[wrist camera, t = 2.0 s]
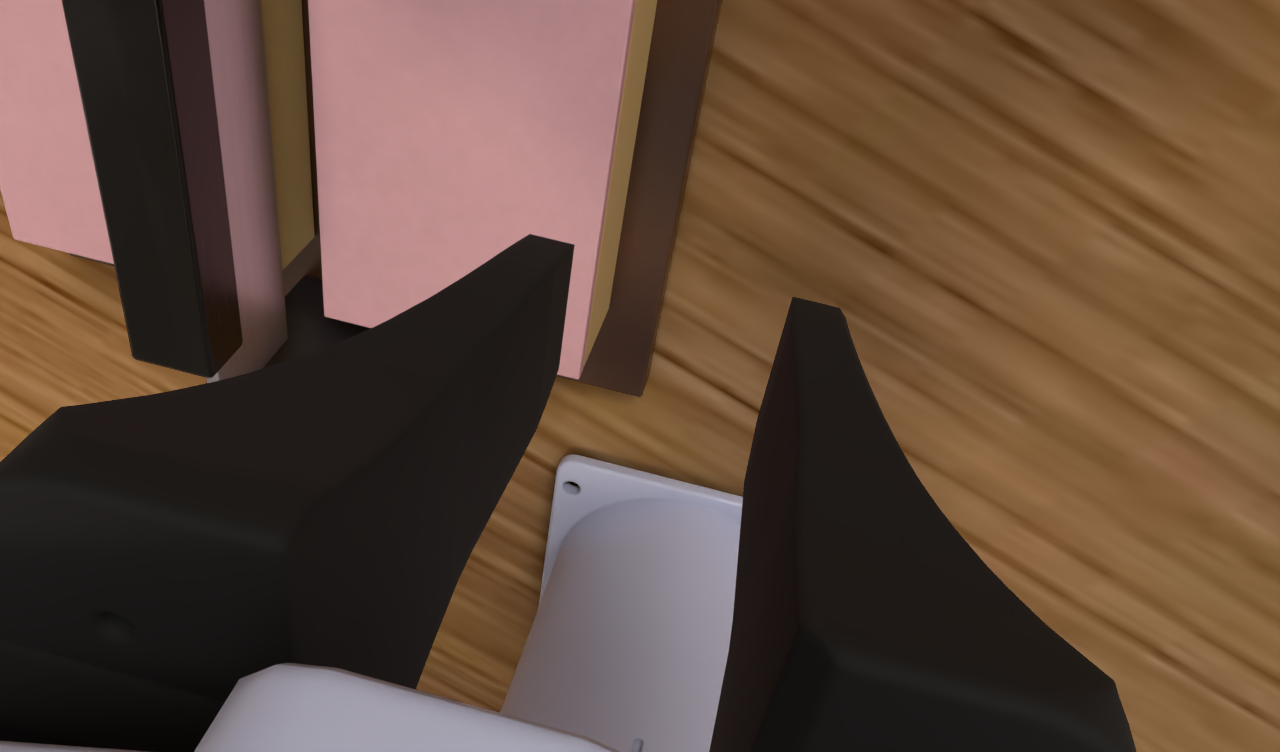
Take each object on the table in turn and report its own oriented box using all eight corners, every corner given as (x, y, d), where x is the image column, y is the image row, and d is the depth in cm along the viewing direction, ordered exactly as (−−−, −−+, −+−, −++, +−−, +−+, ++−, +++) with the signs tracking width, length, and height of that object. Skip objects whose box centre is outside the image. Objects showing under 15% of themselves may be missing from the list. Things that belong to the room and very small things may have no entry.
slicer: (647, 380, 27) (580, 581, 22) (87, 241, 28) (-117, 398, 23) (820, -502, 16) (775, -565, 11) (-109, -671, 17) (-601, -810, 12)
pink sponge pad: (609, 309, 25) (578, 380, 23) (93, 183, 26) (12, 240, 24) (709, -324, 17) (678, -315, 15) (-39, -471, 18) (-180, -484, 16)
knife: (315, 345, 23) (223, 460, 20) (249, 328, 23) (147, 440, 20) (269, -436, 15) (95, -450, 11) (164, -456, 15) (-37, -476, 12)
